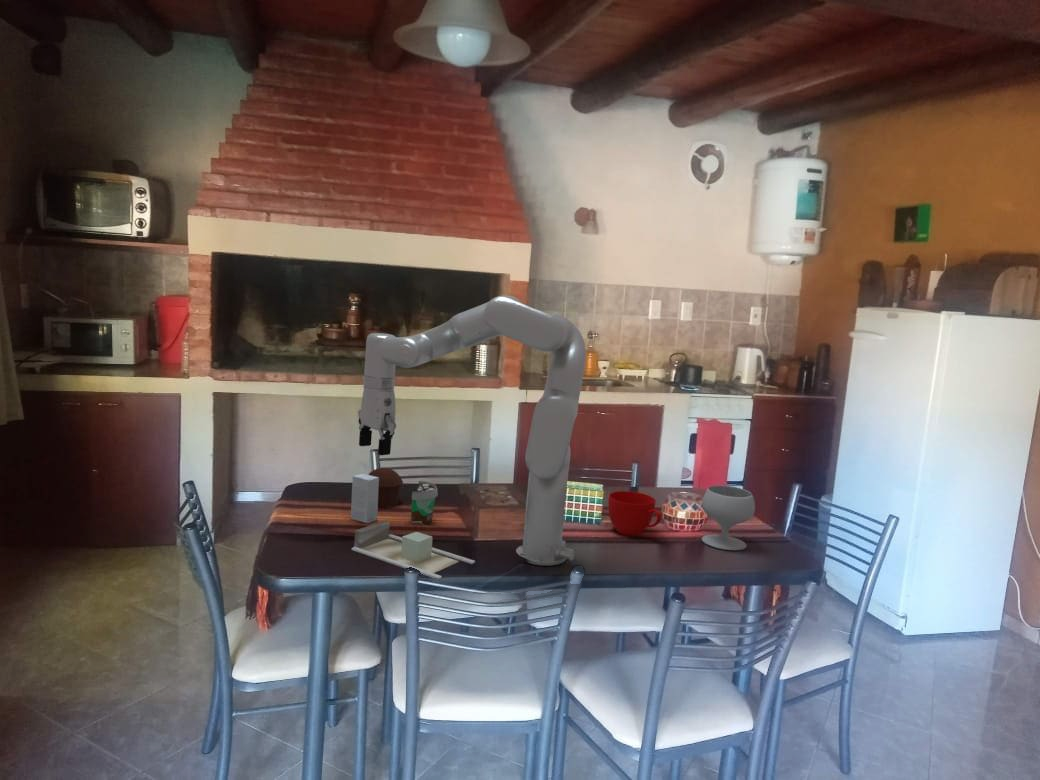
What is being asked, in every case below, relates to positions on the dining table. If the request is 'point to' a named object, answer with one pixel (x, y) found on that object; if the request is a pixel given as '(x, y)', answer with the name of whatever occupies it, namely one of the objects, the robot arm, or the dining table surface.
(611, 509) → the ceramic cup
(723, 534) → the chalice
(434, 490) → the food container
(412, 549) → the block
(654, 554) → the dining table surface
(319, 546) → the dining table surface
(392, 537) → the lane rails
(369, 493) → the skincare box
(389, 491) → the muffin
